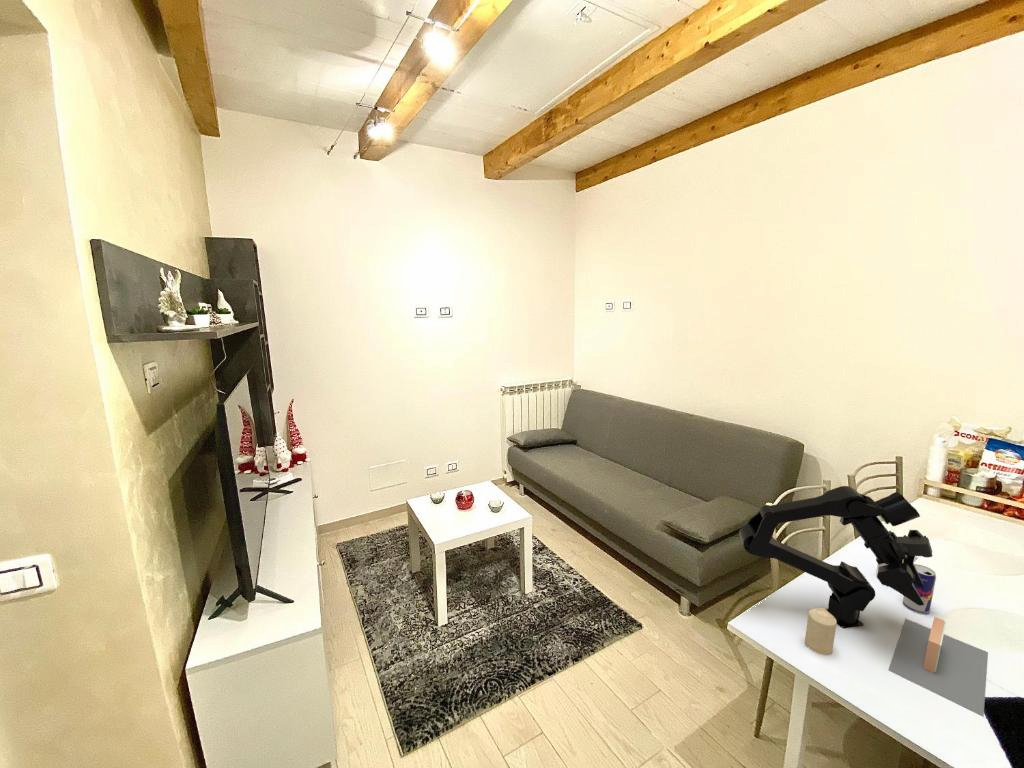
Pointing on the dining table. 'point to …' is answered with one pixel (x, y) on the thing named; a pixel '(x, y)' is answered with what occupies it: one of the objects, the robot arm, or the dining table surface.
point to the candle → (820, 631)
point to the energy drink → (922, 591)
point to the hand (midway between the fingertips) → (921, 595)
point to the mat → (942, 667)
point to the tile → (934, 645)
